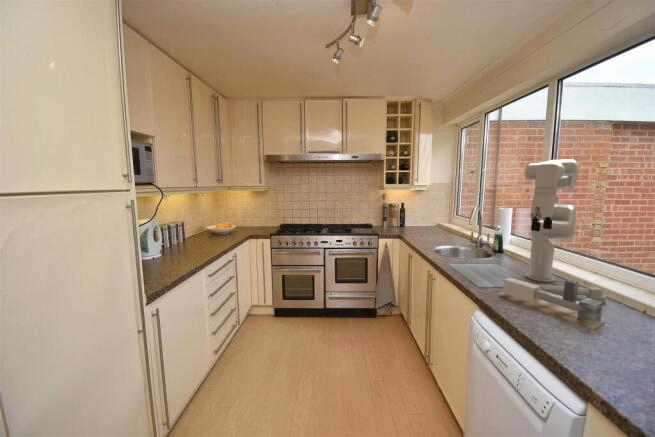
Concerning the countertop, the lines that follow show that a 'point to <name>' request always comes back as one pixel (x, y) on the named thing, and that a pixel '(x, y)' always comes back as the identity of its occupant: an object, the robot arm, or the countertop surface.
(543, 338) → the countertop surface
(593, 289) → the electric toothbrush handle
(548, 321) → the countertop surface
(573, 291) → the grey l-shaped piece
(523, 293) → the sleeve
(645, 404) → the countertop surface
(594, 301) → the stand
